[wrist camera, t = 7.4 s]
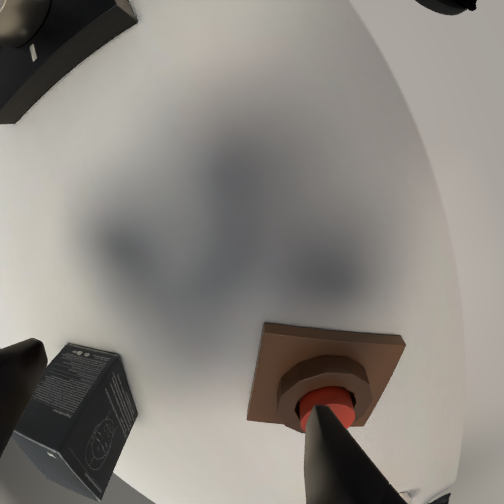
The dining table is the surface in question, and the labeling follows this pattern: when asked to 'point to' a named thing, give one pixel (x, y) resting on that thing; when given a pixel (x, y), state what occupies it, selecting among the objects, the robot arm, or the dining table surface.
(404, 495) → the cup
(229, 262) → the dining table surface
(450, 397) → the dining table surface
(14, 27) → the knob
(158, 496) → the dining table surface
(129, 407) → the box
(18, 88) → the panel
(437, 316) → the dining table surface
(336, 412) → the button
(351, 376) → the button block
